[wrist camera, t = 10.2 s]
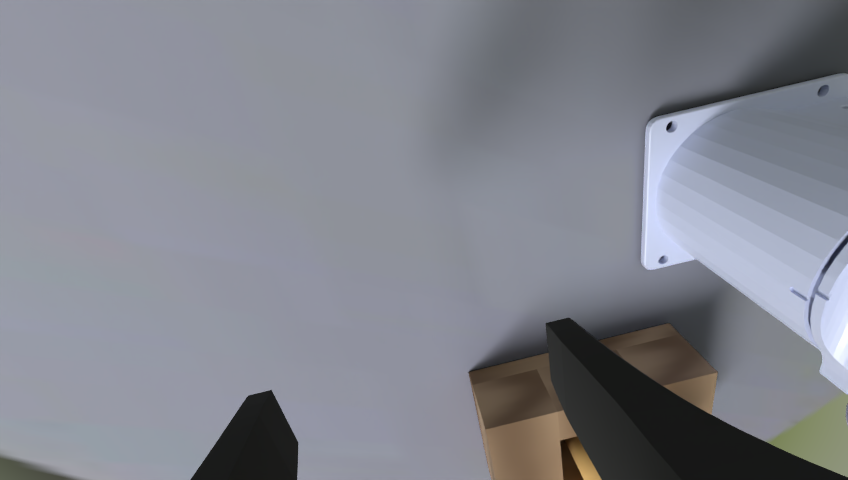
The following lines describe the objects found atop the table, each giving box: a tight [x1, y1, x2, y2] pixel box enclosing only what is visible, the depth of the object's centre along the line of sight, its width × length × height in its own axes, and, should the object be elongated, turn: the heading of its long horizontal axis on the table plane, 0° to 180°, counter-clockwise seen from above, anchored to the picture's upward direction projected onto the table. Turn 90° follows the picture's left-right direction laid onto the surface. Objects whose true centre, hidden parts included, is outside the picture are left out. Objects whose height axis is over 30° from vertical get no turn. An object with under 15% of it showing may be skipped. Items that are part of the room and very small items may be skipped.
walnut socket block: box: [469, 323, 718, 480], centre depth 26 cm, size 12×9×4 cm
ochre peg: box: [564, 436, 602, 480], centre depth 23 cm, size 3×3×8 cm
